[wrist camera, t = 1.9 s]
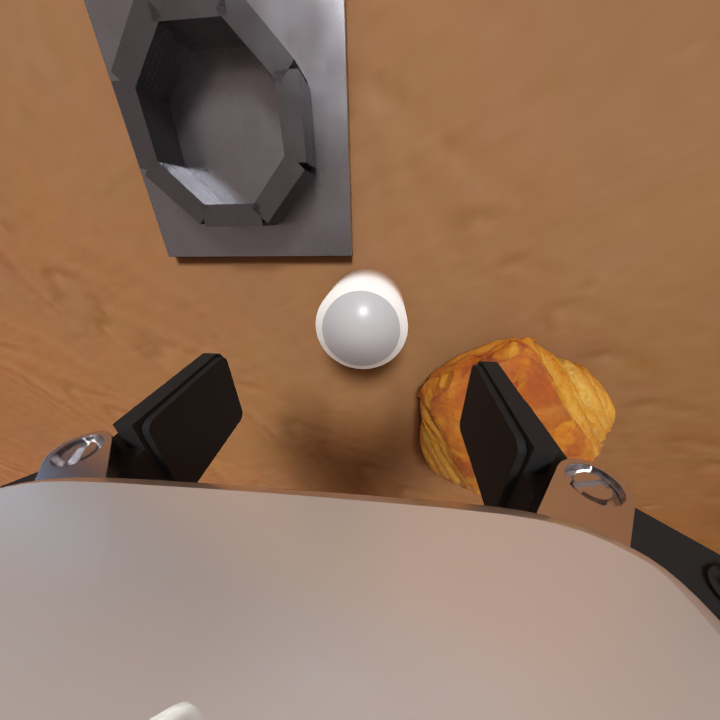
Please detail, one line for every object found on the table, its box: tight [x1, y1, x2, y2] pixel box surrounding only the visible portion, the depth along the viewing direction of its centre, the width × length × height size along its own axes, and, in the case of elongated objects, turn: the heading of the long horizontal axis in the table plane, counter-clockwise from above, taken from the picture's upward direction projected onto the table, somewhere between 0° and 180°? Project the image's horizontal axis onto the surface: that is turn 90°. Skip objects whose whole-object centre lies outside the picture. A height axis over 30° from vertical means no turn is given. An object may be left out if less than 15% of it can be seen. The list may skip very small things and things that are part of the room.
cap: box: [316, 268, 408, 369], centre depth 19 cm, size 6×6×5 cm
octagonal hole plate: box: [84, 0, 353, 257], centre depth 16 cm, size 14×14×3 cm
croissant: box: [417, 337, 615, 495], centre depth 22 cm, size 14×16×8 cm
